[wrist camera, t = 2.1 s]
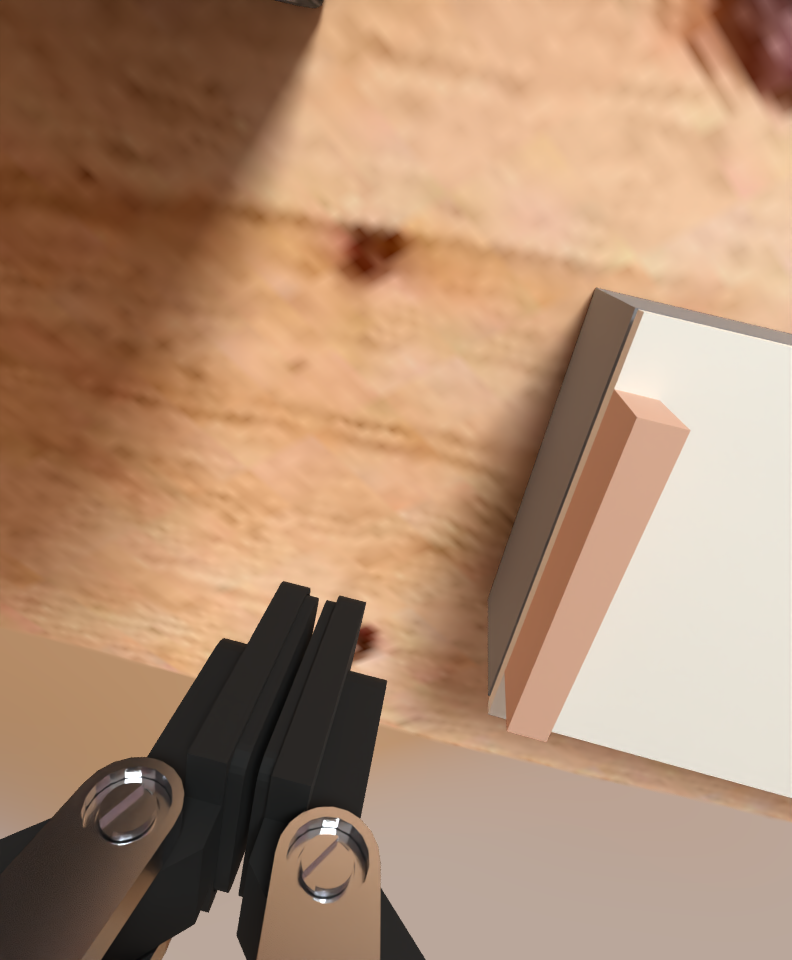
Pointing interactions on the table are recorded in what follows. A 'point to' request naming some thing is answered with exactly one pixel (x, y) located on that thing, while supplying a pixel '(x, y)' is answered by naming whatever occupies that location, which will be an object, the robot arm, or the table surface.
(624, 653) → the lid
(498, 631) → the box
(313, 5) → the graphics card box
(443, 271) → the table surface
